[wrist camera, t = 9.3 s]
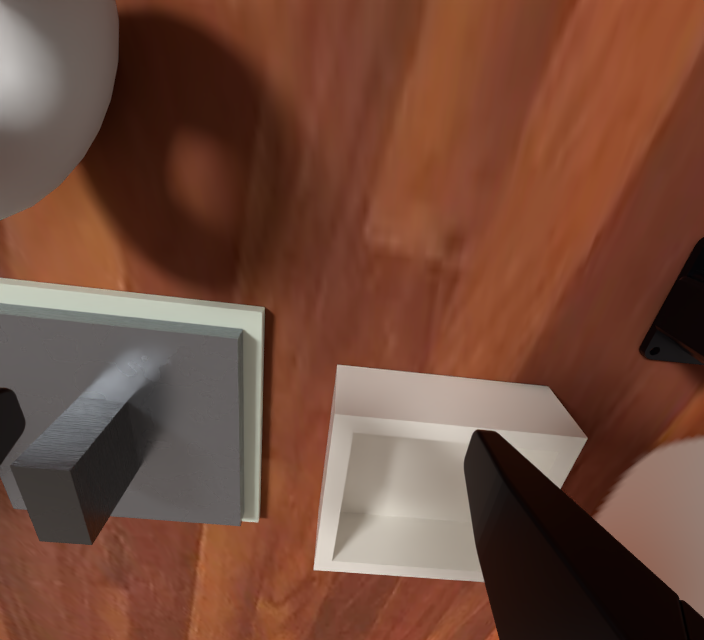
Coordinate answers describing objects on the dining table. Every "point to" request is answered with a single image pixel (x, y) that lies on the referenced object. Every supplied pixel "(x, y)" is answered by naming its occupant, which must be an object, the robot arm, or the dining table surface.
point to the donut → (51, 91)
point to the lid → (122, 420)
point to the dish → (423, 467)
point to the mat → (174, 311)
